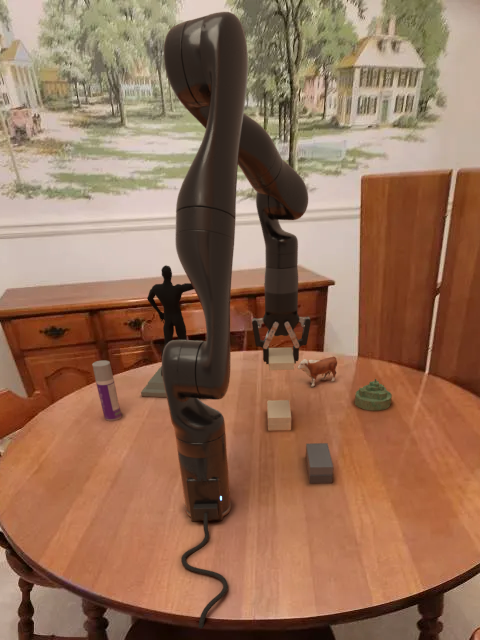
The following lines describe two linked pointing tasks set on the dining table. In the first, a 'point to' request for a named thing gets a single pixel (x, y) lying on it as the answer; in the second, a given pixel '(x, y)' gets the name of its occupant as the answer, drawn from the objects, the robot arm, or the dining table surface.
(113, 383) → the container
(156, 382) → the statue
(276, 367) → the beige rectangular block
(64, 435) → the dining table surface
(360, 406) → the decorative artifact
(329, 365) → the bull figurine
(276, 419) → the small cream box
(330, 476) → the grey stack
